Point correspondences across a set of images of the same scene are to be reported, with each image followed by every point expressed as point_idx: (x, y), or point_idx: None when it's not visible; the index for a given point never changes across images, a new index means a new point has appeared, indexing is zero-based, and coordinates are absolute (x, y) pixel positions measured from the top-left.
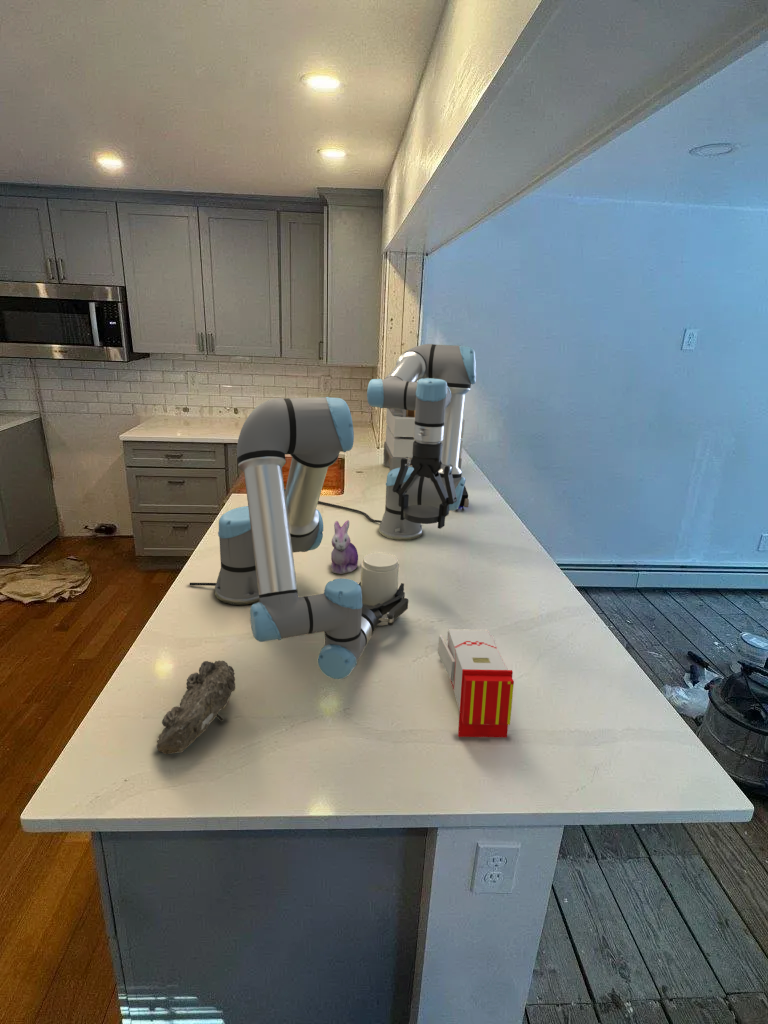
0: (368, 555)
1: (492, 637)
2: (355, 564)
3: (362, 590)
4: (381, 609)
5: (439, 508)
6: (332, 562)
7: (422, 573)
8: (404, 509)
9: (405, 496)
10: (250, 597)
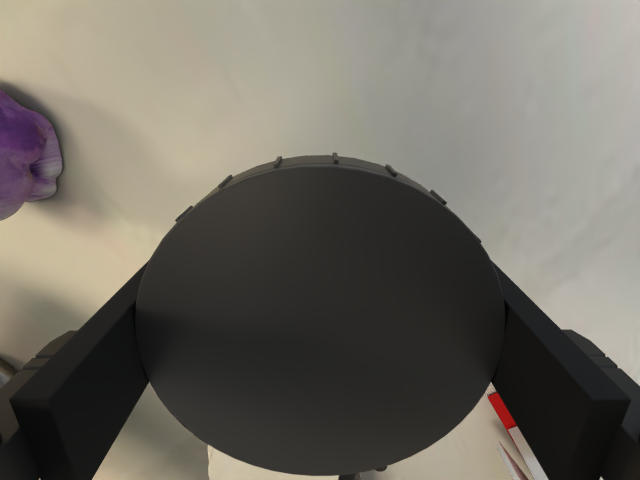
0: (219, 474)
1: None
2: (45, 140)
3: None
4: None
5: (536, 454)
6: None
7: (262, 9)
8: (166, 398)
9: (71, 470)
10: None
